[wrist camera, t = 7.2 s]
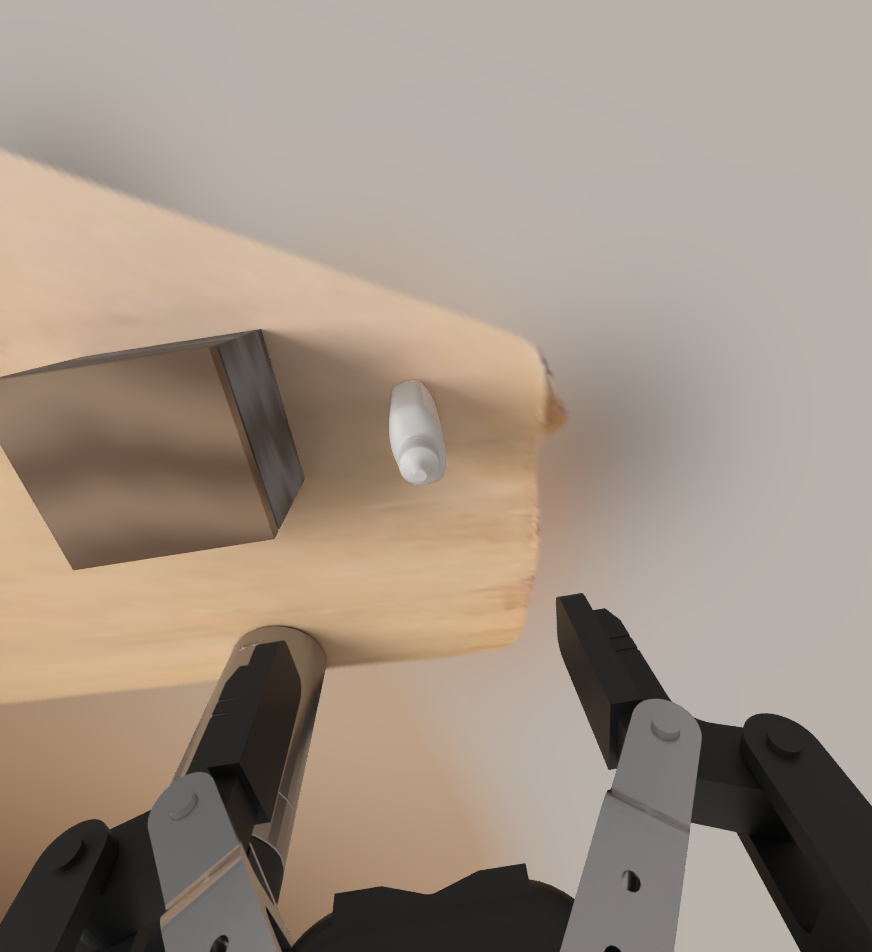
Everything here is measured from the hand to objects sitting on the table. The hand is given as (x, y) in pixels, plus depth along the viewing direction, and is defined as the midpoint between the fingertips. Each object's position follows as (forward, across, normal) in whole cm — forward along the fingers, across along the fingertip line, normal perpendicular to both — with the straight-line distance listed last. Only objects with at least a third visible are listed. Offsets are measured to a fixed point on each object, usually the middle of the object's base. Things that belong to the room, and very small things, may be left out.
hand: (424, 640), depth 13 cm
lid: (+16, +16, -2) cm, 23 cm away
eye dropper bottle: (+24, 0, 0) cm, 25 cm away
